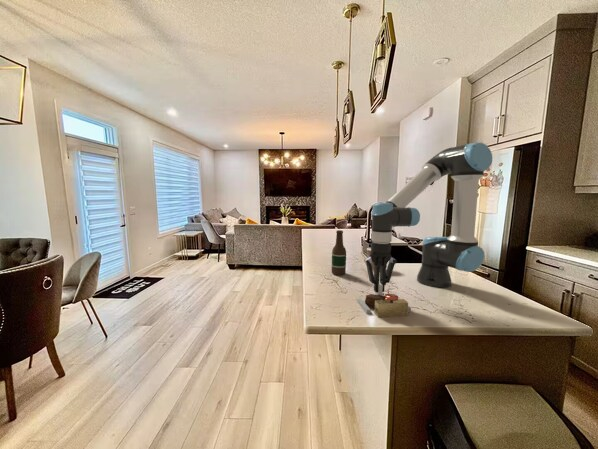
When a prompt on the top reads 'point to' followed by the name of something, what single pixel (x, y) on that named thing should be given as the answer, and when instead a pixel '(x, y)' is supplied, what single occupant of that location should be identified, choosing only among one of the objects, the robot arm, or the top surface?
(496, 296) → the top surface
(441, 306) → the top surface
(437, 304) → the top surface
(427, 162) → the robot arm
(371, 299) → the brick
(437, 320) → the top surface
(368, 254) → the coffee cup
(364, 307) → the rails
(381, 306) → the red dome button
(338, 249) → the beer bottle
